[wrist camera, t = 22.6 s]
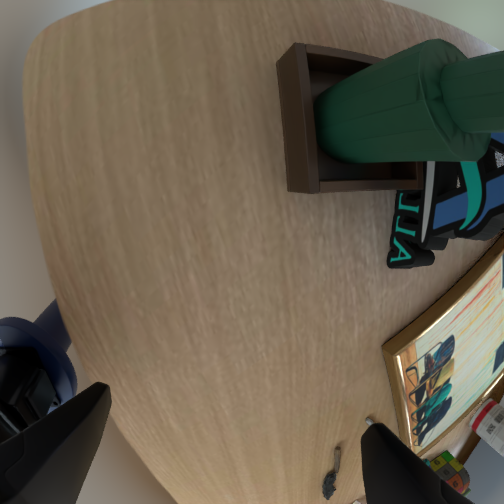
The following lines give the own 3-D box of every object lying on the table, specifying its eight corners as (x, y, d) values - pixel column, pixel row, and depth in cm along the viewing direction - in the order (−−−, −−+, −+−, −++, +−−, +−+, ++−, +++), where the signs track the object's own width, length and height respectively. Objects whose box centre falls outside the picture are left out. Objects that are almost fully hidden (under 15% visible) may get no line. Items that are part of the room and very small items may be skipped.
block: (452, 439, 39) (483, 468, 28) (435, 469, 43) (460, 496, 32) (374, 489, 35) (403, 528, 25) (365, 511, 39) (387, 545, 28)
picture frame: (392, 355, 23) (529, 215, 26) (381, 346, 25) (519, 213, 28) (408, 465, 32) (517, 356, 35) (403, 458, 34) (511, 352, 37)
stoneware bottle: (381, 162, 20) (551, 168, 7) (315, 165, 19) (507, 162, 6) (371, 90, 19) (528, 47, 5) (304, 85, 17) (465, -5, 4)
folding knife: (335, 500, 33) (324, 505, 33) (332, 496, 34) (322, 501, 34) (337, 474, 29) (324, 480, 28) (334, 468, 30) (320, 475, 29)
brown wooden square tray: (287, 191, 19) (309, 193, 16) (275, 62, 17) (294, 42, 14) (393, 186, 21) (423, 189, 18) (382, 77, 19) (410, 66, 16)
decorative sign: (405, 266, 24) (546, 333, 9) (385, 266, 23) (535, 340, 9) (417, 67, 20) (549, 35, 5) (398, 57, 19) (535, 13, 5)
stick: (339, 470, 29) (338, 473, 29) (335, 469, 30) (333, 472, 29) (341, 446, 27) (339, 450, 27) (336, 445, 28) (334, 449, 27)
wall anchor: (387, 436, 31) (383, 442, 30) (366, 414, 28) (361, 421, 28) (393, 438, 30) (389, 444, 29) (373, 417, 27) (368, 424, 27)
